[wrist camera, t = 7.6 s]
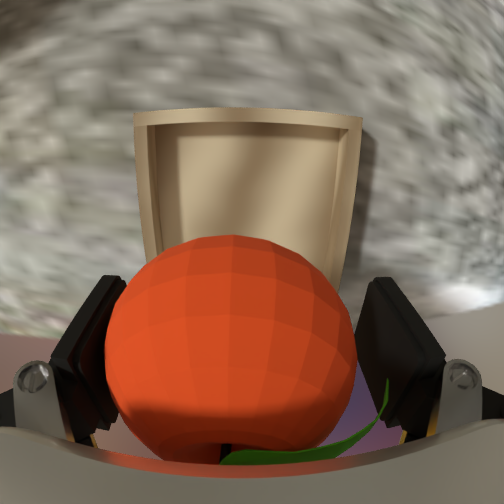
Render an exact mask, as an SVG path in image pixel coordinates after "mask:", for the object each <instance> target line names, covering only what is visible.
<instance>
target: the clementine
mask: <svg viewBox="0 0 504 504" xmlns="http://www.w3.org/2000/svg"><path fill="white" fill-rule="evenodd" d="M104 359H105V370H106V379H107V383H108V386H109V390H110V394H111V397H112V399H113V401H114V403H115V405H116V407H117V409H118V411H119V413H120V415H121V417H122V419H123V421H124V423H125V424H126V425H127V426H128V428H129V429H130V430H131V432H132V433H133V434H134V435H135V436H136V437H137V438H138V439H139V440H140V441H141V442H142V443H143V444H144V445H145V446H147V447H148V448H149V449H150V450H151V451H152V452H153V453H154V454H156V455H157V456H158V457H160V458H161V459H163V460H164V461H172V462H181V463H193V464H208V465H275V464H290V463H301V462H311V461H319V460H327V459H334V458H336V457H337V456H339V455H340V454H341V453H343V452H344V451H346V450H347V449H349V448H350V447H352V446H353V445H354V444H355V443H356V442H357V441H359V440H360V439H361V438H362V437H363V436H365V435H366V434H367V433H368V432H369V431H370V429H371V428H372V427H373V426H374V424H375V423H376V421H377V420H378V418H379V417H380V415H381V413H382V411H383V409H384V408H385V406H386V404H387V402H388V388H389V380H388V378H387V383H386V390H385V396H384V402H383V407H382V409H381V410H380V412H379V414H378V416H377V417H376V419H375V420H374V421H373V422H371V423H370V424H369V425H368V426H366V427H365V428H364V429H362V430H361V431H359V432H357V433H356V434H354V435H352V436H351V437H350V438H347V439H346V440H343V441H340V442H336V443H333V444H330V445H326V446H322V447H317V446H319V445H320V444H321V443H322V442H323V441H324V440H325V439H326V438H327V437H328V436H329V434H330V433H331V432H332V431H333V429H334V428H335V426H336V424H337V423H338V421H339V419H340V418H341V416H342V414H343V413H344V411H345V409H346V407H347V405H348V403H349V400H350V396H351V393H352V390H353V386H354V380H355V373H356V367H357V360H358V358H357V351H356V344H355V338H354V333H353V329H352V325H351V321H350V316H349V312H348V310H347V309H346V307H345V305H344V304H343V302H342V300H341V299H340V297H339V295H338V294H337V292H336V291H335V289H334V288H333V286H332V285H331V284H330V282H329V281H328V280H327V279H326V277H325V276H324V275H323V273H322V272H321V271H319V270H318V269H317V268H316V267H315V266H313V265H312V264H311V263H310V262H309V261H307V260H306V259H305V258H304V257H303V256H301V255H300V254H299V253H296V252H294V251H292V250H289V249H287V248H285V247H283V246H280V245H278V244H276V243H273V242H271V241H269V240H265V239H260V238H253V237H247V236H241V235H235V234H232V235H220V236H209V237H200V238H196V239H193V240H191V241H188V242H185V243H182V244H179V245H177V246H174V247H171V248H168V249H166V250H165V251H164V252H162V253H161V254H160V255H158V256H157V257H155V258H154V259H153V260H151V261H150V262H149V263H147V264H146V265H145V266H143V268H142V269H141V270H140V271H139V272H138V273H137V274H136V275H135V276H134V277H133V279H132V280H131V281H130V282H129V284H128V285H127V287H126V288H125V289H124V291H123V292H122V294H121V295H120V297H119V299H118V300H117V302H116V303H115V306H114V309H113V312H112V315H111V319H110V322H109V325H108V329H107V334H106V340H105V346H104ZM316 447H317V448H316Z"/></svg>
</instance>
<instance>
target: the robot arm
mask: <svg viewBox="0 0 504 504" xmlns="http://www.w3.org/2000/svg"><path fill="white" fill-rule="evenodd" d="M126 287H127V285H126V282H125V281H124V280H121V278H120V276H114V275H103V276H102V277H101V279H100V280H99V282H98V283H97V285H96V286H95V287H94V289H93V290H92V292H91V293H90V295H89V296H88V298H87V299H86V300H85V302H84V303H83V305H82V306H81V308H80V309H79V311H78V312H77V314H76V316H75V317H74V319H73V320H72V322H71V323H70V325H69V326H68V328H67V330H66V331H65V333H64V334H63V336H62V338H61V339H60V341H59V343H58V344H57V346H56V348H55V349H54V351H53V353H52V354H51V359H50V361H49V363H46V362H44V361H31V362H29V363H26V364H25V365H23V366H22V367H21V368H20V369H19V370H18V371H17V372H16V374H15V377H14V381H13V388H12V389H10V390H8V391H6V392H4V393H1V394H0V504H504V395H502V394H499V393H497V392H495V391H492V390H490V389H488V388H485V387H483V386H482V379H481V375H480V373H479V371H478V370H477V368H476V367H475V366H474V365H472V364H471V363H469V362H467V361H465V360H461V359H454V360H451V361H449V362H448V363H447V362H446V361H445V359H444V358H445V356H446V354H445V352H444V351H443V349H442V348H441V346H440V345H439V343H438V342H437V340H436V339H435V337H434V336H433V334H432V333H431V331H430V330H429V328H428V327H427V326H426V324H425V323H424V321H423V320H422V318H421V317H420V316H419V314H418V313H417V311H416V310H415V309H414V307H413V306H412V304H411V303H410V302H409V300H408V299H407V298H406V296H405V295H404V294H403V292H402V291H401V290H400V288H399V287H398V286H397V284H396V283H395V282H394V280H393V279H392V278H391V277H376V278H374V280H373V282H370V283H369V285H368V288H367V292H366V296H365V299H364V303H363V307H362V310H361V314H360V317H359V321H358V324H357V327H356V331H355V334H354V338H355V344H356V351H357V358H358V362H359V364H360V367H361V370H362V372H363V375H364V377H365V380H366V383H367V385H368V388H369V391H370V393H371V396H372V399H373V401H374V404H375V407H376V410H377V413H378V414H379V412H380V410H381V409H382V407H383V402H384V396H385V390H386V383H387V378H388V380H389V388H388V402H387V404H386V406H385V408H384V409H383V411H382V413H381V415H380V417H379V418H380V420H382V421H385V424H386V427H387V428H391V427H395V426H399V425H401V427H402V430H403V432H402V436H401V439H400V442H399V445H397V446H393V447H389V448H385V449H380V450H376V451H372V452H367V453H362V454H357V455H352V456H346V457H340V458H334V459H327V460H319V461H311V462H301V463H290V464H275V465H208V464H193V463H181V462H172V461H164V460H156V459H148V458H143V457H136V456H131V455H126V454H121V453H116V452H111V451H107V450H103V449H98V446H97V443H96V440H95V438H94V435H93V433H95V430H96V428H98V429H103V430H108V431H109V429H110V426H111V423H115V422H116V420H117V417H118V413H119V411H118V409H117V407H116V405H115V403H114V401H113V399H112V397H111V394H110V390H109V386H108V383H107V379H106V370H105V359H104V346H105V340H106V334H107V329H108V325H109V322H110V319H111V315H112V312H113V309H114V306H115V303H116V302H117V300H118V299H119V297H120V295H121V294H122V292H123V291H124V289H125V288H126Z"/></svg>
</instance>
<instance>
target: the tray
mask: <svg viewBox="0 0 504 504" xmlns="http://www.w3.org/2000/svg"><path fill="white" fill-rule="evenodd" d="M133 118H134V146H135V163H136V177H137V189H138V200H139V209H140V218H141V226H142V234H143V242H144V249H145V256H146V262H147V263H149V262H150V261H151V260H153V259H154V258H155V257H157V256H158V255H160V254H161V253H162V252H164V251H165V250H166V249H168V248H171V247H174V246H177V245H179V244H182V243H185V242H188V241H191V240H193V239H196V238H200V237H209V236H220V235H232V234H235V235H241V236H247V237H253V238H260V239H265V240H269V241H271V242H273V243H276V244H278V245H280V246H283V247H285V248H287V249H289V250H292V251H294V252H296V253H299V254H300V255H301V256H303V257H304V258H305V259H306V260H307V261H309V262H310V263H311V264H312V265H313V266H315V267H316V268H317V269H318V270H319V271H321V272H322V273H323V275H324V276H325V277H326V279H327V280H328V281H329V282H330V284H331V285H332V286H333V288H334V289H335V291H336V292H337V294H338V290H339V286H340V281H341V276H342V271H343V265H344V260H345V255H346V249H347V243H348V238H349V231H350V225H351V219H352V212H353V205H354V198H355V190H356V183H357V174H358V165H359V156H360V146H361V134H362V121H363V118H361V117H354V116H347V115H340V114H332V113H323V112H313V111H302V110H289V109H272V108H191V109H174V110H161V111H150V112H140V113H133Z"/></svg>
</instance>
